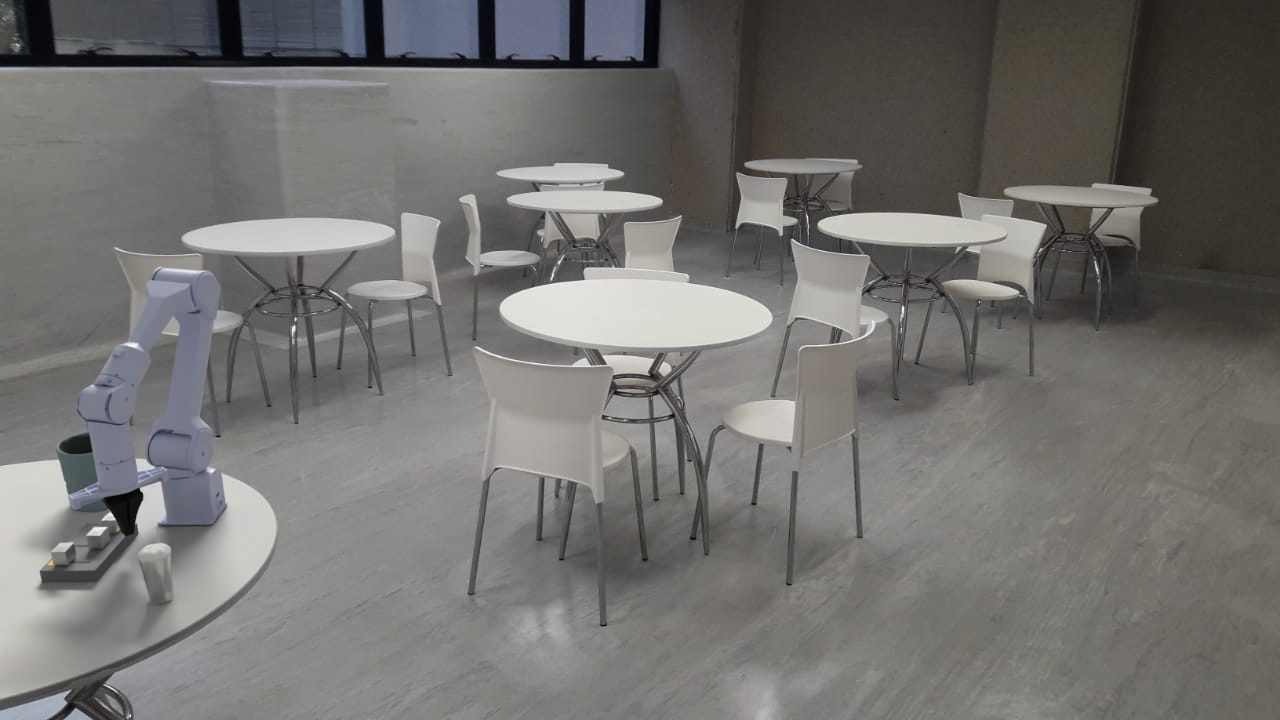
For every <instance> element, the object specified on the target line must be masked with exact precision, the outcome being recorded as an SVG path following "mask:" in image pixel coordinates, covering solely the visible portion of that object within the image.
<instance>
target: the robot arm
mask: <svg viewBox="0 0 1280 720" xmlns="http://www.w3.org/2000/svg"><path fill="white" fill-rule="evenodd" d="M144 287H145V294H146V298H147V300H146V301H145V303H144V306H143V308H142V310H141V312H140V313H139V317H138V319H137V321H136V323H135V325H134V327H133V329H132V331H131V333H130V336H129V338H128V340H127V342H125V343H121V344H118V345H116V346H115V347H114V349H113V350H112V351H111V353H110V356H109V357H108V359H107V361H106V363H105V364H104V366H103V368H102V369H101V371H100V373H99V374H98V376H97V378H96V380H95V381H94V383H93V384H91V385H89V386H87V387H85V388H84V389H82V390H81V392H79V394H78V396H77V400H76V407H75V408H74V411H75V414H76V416H77V417H78V418H79V419H80V420H81V421H82V422H83V425H84V430H86V432H89V434H90V439H91V445H92V450H93V456H94V461H95V467H96V472H97V478H98V482H97V483H95V484H93V485H91V486H89V487H87V488H85V489H83V490H80V491H78V492H76V493H73V494H70V495H68V494H67V496H68V497H67V498H68V501H69V502H68V503H69V506H70V507H71V508H72V509H74V510H73V511H75V510H76V509H80V508H81V506H83V505H86V504H90V503H93V502H96V501H99V500H102V501H103V503H104V504H105V505H106V506H107V507H108V509H107V510H109V512H111V513H112V514H113V516H114V518H115V519H116V521H117V523H118V525H119V528H120V530H121V533H122V534H123V535H125V536H129V535H132V534H134V533H135V523H137V516H138V512H139V510H140V507H141V504H142V503H143V501H144V498H145V497H144V492H143V491H142V490H141V488H144V487H147V486H150V485H153V484H156V483H159V482H160V486H161V491H162V498H163V503H164V509H165V512H164V514H163V515H162V516H161V517H160V519H159V520H158V521H157V523H156V524H157V525H158V526H211V525H213V524H214V523H215V522H216V520H217V519H218V517H219V516H220V515H221V513H222V512H223V510H225V508H226V506H227V505H228V502H227V501H226V497H225V489H224V482H223V476H222V472H221V470H220V469H218V468H214V467H209V465H210V463H211V462H212V460H213V455H214V446H213V440H212V439H213V438H212V437H213V428H211V427H210V426H209V425H208V424H207V423H206V422H205V421H204V420H203V419H202V418H201V411H202V405H203V397H204V390H205V383H206V377H207V370H208V364H209V358H210V349H211V345H212V337H213V331H214V324H215V320H216V319H217V318H218V317H217V315H218V310H219V309H218V308H219V302H220V296H221V290H222V289H221V288H222V287H221V284H220V283H219V282H218V280H217V277H216V276H215V274H214V273H213V272H212V271H210V270H193V269H184V268H182V269H181V268H171V267H170V268H169V267H168V266H167V267H166V266H159V267H157V268H155V269H154V270H153V271H152V273H150V276H149V279H148V281H147V283H146V284H145V286H144ZM172 318H174V319H175V320H176V321H177V323H178V325H179V330H178V336H177V343H176V348H175V355H174V362H173V369H172V374H171V375H172V376H171V380H170V381H171V382H170V389H169V395H168V400H167V401H168V402H167V408H166V414H165V415H163V416H162V417H160V418H158V419H157V420H155V422H153V424H152V425H151V432H150V434H149V436H148V439H147V440H146V442H145V446H144V456H145V457H144V458H145V460H146V462H147V463H148V465H150V466H152V467H154V468H151V469H150V468H149V469H145V470H138V465H137V460H136V454H135V447H134V442H133V436H132V435H133V434H132V431H131V430H132V429H131V425H130V418H131V417H132V416H133V415H134V413H135V410H136V402H137V401H136V400H137V397H138V390H137V389H138V387H139V386H140V383H141V382H142V380H143V379H144V376H145V375H146V373H147V371H148V369H149V368H150V365H151V364H152V359H151V356H150V350H152V348H153V346H154V345H155V343H156V342H157V340H158V339H159V337H160V335H162V333H163V331H164V330H165V329H166V328H167V326H168V324H169V322H170V321H171V319H172ZM175 431H177V432H175ZM178 432H184V433H178ZM185 433H186V434H185Z"/></svg>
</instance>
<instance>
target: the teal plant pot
mask: <svg viewBox="0 0 1280 720" xmlns="http://www.w3.org/2000/svg"><path fill="white" fill-rule="evenodd" d="M55 450H56V454H57V457H58V461H59V464H60V469H61V472H62V477H63V480H64V482H65V489H66V492H67V496H68V495H70V494H73V493H76V492H78V491H80V490H83V489H85V488H87V487H89V486H91V485H93V484H95V483H97V482H98V478H97V472H96V467H95V461H94V456H93V450H92V445H91V439H90V434H89V432H88V431H83V432H80V433H75V434H73V435H70V436H67V437H65V438H63V439H62V440H60V441H59V442H58V443H56V445H55ZM72 509H73V508H72ZM107 510H109V509H108V507H107V506H106V505H105V504H104V503H103V501H102V500H99V501H96V502H93V503H90V504H86V505H83V506H81V508H80V509H76V510H74V509H73V511H75V512H77V513H82V514H85V513H86V514H90V513H91V514H92V513H99V512H103V511H107Z"/></svg>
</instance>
